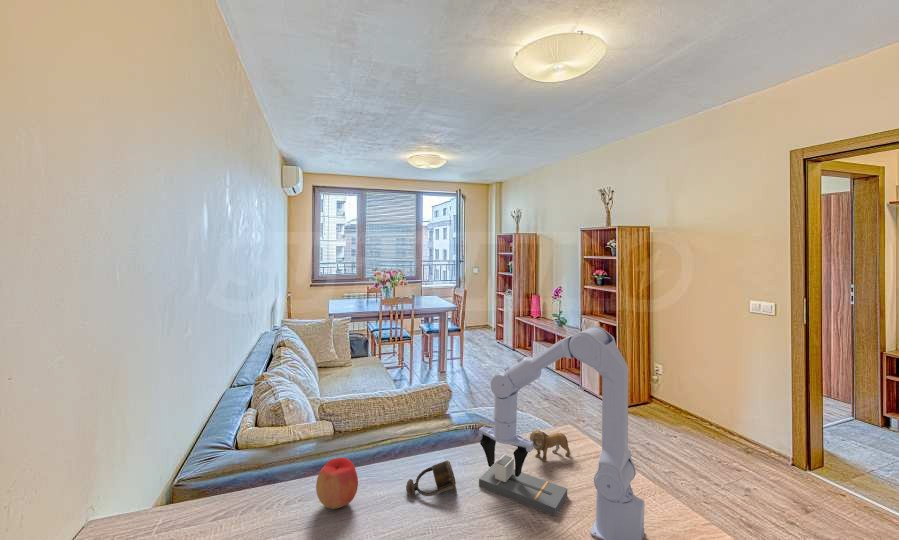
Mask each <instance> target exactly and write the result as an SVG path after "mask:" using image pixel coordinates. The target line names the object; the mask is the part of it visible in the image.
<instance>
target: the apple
mask: <svg viewBox="0 0 899 540" xmlns="http://www.w3.org/2000/svg"><path fill="white" fill-rule="evenodd" d="M358 487H359V476H358V473H357V469H356V466H355V465H354V463H353V462H352V460H350V459H349V458H347V457H337V458H332V459H330V460H328V461H327V462H326V464H324V466H322V467H321V469H320V472H319V473H318V476H317V479H316V484H315V492H316V496H317V498H318V500H319V502H320V503H321V504H322V505H323V506H324V507H326V508H328V509H331V510H332V509H333V510H334V509H335V510H336V509H340V508H342V507H345V506H347V505H349V503H351V502H352V501H353V500H354V499H355V497H356V495H357V492H358V489H359V488H358Z"/></svg>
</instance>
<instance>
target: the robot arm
mask: <svg viewBox="0 0 899 540" xmlns="http://www.w3.org/2000/svg"><path fill="white" fill-rule="evenodd" d="M562 358H567V359H571V360H572V359H574V358H575V359H576V360H578V361H579V362H581V363H583V364H585V365H587V366H588V367H591V368H592V369H594V370H595V371H596V372H597V373H598V374H599V375H600V376H601V377H602V379H601V380H602V381H601V383H602V385H601V386H602V387H601V390H602V391H601V393H602V395H601V397H602V398H601V399H602V400H601V401H602V402H601V404H602V406H601V407H602V408H601V409H602V410H601V414H602V415H601V433H602V434H601V452H600V455H599V458H598V459H599V460H598V467H597V468H598V469H597V471H596V472H595V474H594V476H593V484H594V487H595V489H596V504H595V505H596V507H595V508H596V509H595V520H594V523H593V524H592V527H591V529H590V531H589V532H590V536H593V537H595V538H598V539H600V540H643V538H645V507H646V506H645V500H644V499H642V498H639V497H638V496H636V495H635V494H634V491H633V488H632V486H631V483H632V481H633V480H634V479H635V477H636V473H637V472H636V471H637V470H636V467H635V464H634V462H633V459H632V451H631V450H630V449H629V448H628V447H629V367H628V363H627V361H626V360H625V358H624V356H623V355H622V353H621V351H620V349H619V348H618V346H617V343H616V340H615V337H614V336H613V335H612V334H610V332H608V331H607V330H606V329H604V328H603V327H600V326H595V325H594V326H590V327H587V328H586V329H584V330H583V331H579V332H577V333H575V334H574V333H573V334H572V335H569V336H567V337H565V338H563V339H560V340H558V341H557V342H556V343H553V345H552V346H550V347H548V348H547V349H546V350H544V351H543V352H541V353H540V354H538V355H537V356H536V357H531V356H525V357H524V356H521V357H519V358H518V359H517V360H516V361H517V362H516V363H515V364H513V365H512V366H507V367H504V371H503V372H501V373H498V374H495V375H494V377H493V378H491V380H490V390H491V391H492V394H493V395H494V409H493V410H494V411H493V413H494V415H493V416H494V418H493V421H494V422H493V427H487V426H481V427H480V428H478V436H479V437H480V438H481V439H480V441H479V444H480V446H481V447H482V449H483V451H484V454H485V458H486V461H487V466H488V468H490V467H492V466H493V465H494V464H495V460H496V459H495V458H496V455H495V454H496V453H495V452H496V451H495V450H496V444H497V443H499V444H502V445H503V444H504V445H510V446H514V447H517V448H516V449H515V450H514V451H513V452H512V453H513V458H514V470H515V476H516V477H518V476H519V475H520V474H521V472H522V469H523V465H524V463H525V460H526V457H527V456H528V454H529V453H531V452H532V451H533V449H534V447H533V442H532V441H530V439H526V438H525V437H524V436H521V435H520V434H518V433H517V417H518V416H517V415H518V413H517V412H518V392H519V391H520V390H521V389H523V388H524V387H526V386H528V385H529V384H532V383H533V382H535V381H536V380H538V379H539V378H540V377H541V375H542V370H543V369H545V368H547V367H548V366H550V365H552V364H554V363H555V362H556V361H559V360H561V359H562ZM496 442H497V443H496Z"/></svg>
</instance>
